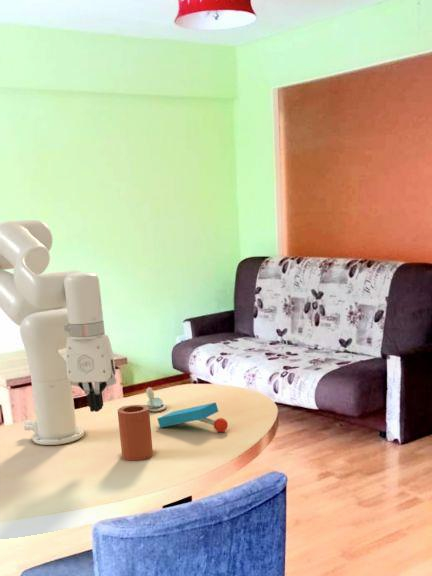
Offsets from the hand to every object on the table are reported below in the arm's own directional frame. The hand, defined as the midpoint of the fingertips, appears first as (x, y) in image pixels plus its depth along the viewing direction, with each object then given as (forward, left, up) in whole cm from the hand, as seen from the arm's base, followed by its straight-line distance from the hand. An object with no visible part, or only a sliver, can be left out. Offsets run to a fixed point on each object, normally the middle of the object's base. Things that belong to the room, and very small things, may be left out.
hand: (96, 409), depth 167 cm
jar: (+9, 0, -11) cm, 14 cm away
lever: (+17, +21, -11) cm, 29 cm away
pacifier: (+1, +37, -11) cm, 39 cm away
